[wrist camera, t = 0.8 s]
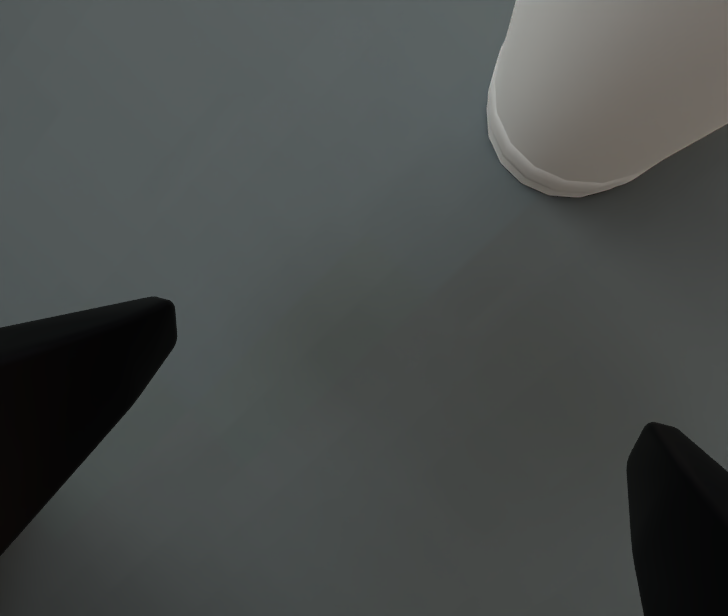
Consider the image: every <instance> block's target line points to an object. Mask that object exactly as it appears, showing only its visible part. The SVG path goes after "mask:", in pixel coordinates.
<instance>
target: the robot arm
mask: <svg viewBox="0 0 728 616" xmlns="http://www.w3.org/2000/svg"><path fill="white" fill-rule="evenodd" d="M176 341H177V327H176V314H175V306H174V304H173V303H172V302H171V301H170V300H166V299H162V298H158V297H147V298H142V299H137V300H132V301H127V302H123V303H118V304H113V305H108V306H103V307H98V308H94V309H89V310H84V311H79V312H74V313H69V314H65V315H60V316H55V317H50V318H45V319H40V320H35V321H31V322H26V323H21V324H16V325H11V326H6V327H2V328H0V556H1V555H2V554H3V553H4V551H5V550H6V549H7V548H8V547H9V546H10V545H11V543H12V542H13V541H14V540H15V539H16V538H17V537H18V535H19V534H20V533H21V532H22V531H23V530H24V529H25V527H26V526H27V525H28V524H29V523H30V522H31V521H32V519H33V518H34V517H35V516H36V515H37V514H38V513H39V512H40V510H41V509H42V508H43V507H44V506H45V505H46V504H47V502H48V501H49V500H50V499H51V498H52V497H53V496H54V494H55V493H56V492H57V491H58V490H59V489H60V488H61V486H62V485H63V484H64V483H65V482H66V481H67V480H68V478H69V477H70V476H71V475H72V474H73V473H74V472H75V470H76V469H77V468H78V467H79V466H80V465H81V464H82V463H83V461H84V460H85V459H86V458H87V457H88V456H89V455H90V453H91V452H92V451H93V450H94V449H95V448H96V447H97V445H98V444H99V443H100V442H101V441H102V440H103V439H104V437H105V436H106V435H107V434H108V433H109V432H110V431H111V429H112V428H113V427H114V426H115V425H116V424H117V423H118V421H119V420H120V419H121V418H122V417H123V416H124V415H125V414H126V412H127V411H128V410H129V409H130V408H131V406H132V405H133V404H134V403H135V401H136V400H137V399H138V397H139V396H140V395H141V393H142V392H143V390H144V389H145V388H146V386H147V385H148V383H149V382H150V381H151V379H152V378H153V376H154V375H155V373H156V372H157V371H158V369H159V368H160V366H161V365H162V364H163V362H164V361H165V359H166V358H167V357H168V355H169V354H170V352H171V351H172V349H173V348H174V346H175V344H176ZM627 485H628V500H629V515H630V529H631V542H632V553H633V559H634V565H635V571H636V576H637V581H638V586H639V591H640V597H641V602H642V607H643V612H644V616H728V472H727V471H726V470H725V469H724V468H723V467H722V466H720V465H719V464H718V463H717V462H716V461H715V460H713V459H712V458H711V457H710V456H709V455H708V454H706V453H705V452H704V451H703V450H702V449H701V448H699V447H698V446H697V445H696V444H695V443H694V442H692V441H691V440H690V439H689V438H688V437H687V436H685V435H684V434H683V433H682V432H681V431H680V430H678V429H677V428H675V427H672V426H668V425H664V424H660V423H656V422H650V423H648V424H647V425H646V426H645V427H644V428H643V430H642V432H641V434H640V436H639V438H638V440H637V442H636V444H635V446H634V448H633V449H632V451H631V453H630V455H629V458H628V461H627Z"/></svg>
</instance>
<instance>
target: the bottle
mask: <svg viewBox="0 0 728 616" xmlns="http://www.w3.org/2000/svg"><path fill="white" fill-rule="evenodd" d="M487 122H488V136H489V139H490V141H491V143H492V145H493V147H494V150H495V152H496V154H497V156H498V158H499V161H500V163H501V164H502V165H503V166H504V167H505V168H506V169H507V170H508V171H509V172H510V173H511V174H512V175H513V176H514V177H515V178H517V179H518V180H519V181H520V182H521V183H522V184H524V185H526V186H529V187H531V188H533V189H536V190H538V191H540V192H542V193H545V194H547V195H551V196H565V197H579V198H580V197H584V196H587V195H591V194H595V193H598V192H602V191H606V190H610V189H612V188H614V187H616V186H620V185H623V184H626V183H628V182H630V181H632V180H633V179H635V178H636V177H638V176H639V175H641V174H642V173H644V172H645V171H647V170H648V169H650V168H652V167H653V166H655V165H656V164H658V163H659V162H661V161H662V160H664V159H665V158H667V157H669V156H671V155H673V154H674V153H676V152H678V151H680V150H681V149H683V148H685V147H687V146H689V145H690V144H692V143H694V142H696V141H698V140H699V139H701V138H703V137H705V136H706V135H708V134H710V133H712V132H714V131H715V130H717V129H719V128H721V127H723V126H724V125H726V124H728V0H516V3H515V6H514V10H513V13H512V17H511V21H510V24H509V28H508V31H507V35H506V39H505V42H504V43H503V45H502V47H501V49H500V52H499V55H498V59H497V62H496V66H495V69H494V73H493V76H492V79H491V83H490V86H489V90H488V103H487Z"/></svg>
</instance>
